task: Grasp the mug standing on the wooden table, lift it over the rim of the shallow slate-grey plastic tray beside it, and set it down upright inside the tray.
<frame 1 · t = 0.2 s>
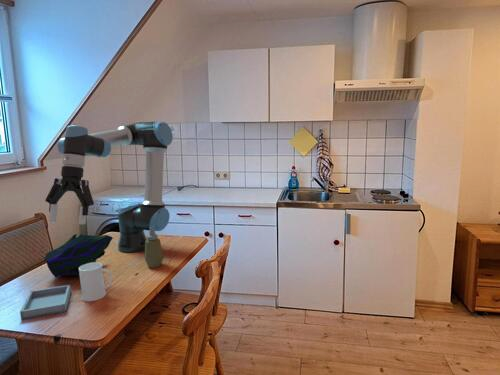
hand: (67, 222, 140), 28 cm above the table, tool tilted 15°, fingers open, 13 cm apart
mug: (98, 296, 141), on the table
slate tray: (48, 304, 136), on the table
squeeze bottle: (154, 266, 169), on the table
decorative plant: (85, 274, 163), on the table
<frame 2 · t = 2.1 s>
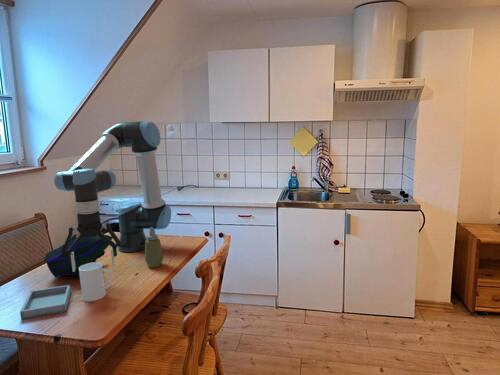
hand: (94, 267, 139), 12 cm above the table, tool pointing down, fingers open, 13 cm apart
nothing on the table moved.
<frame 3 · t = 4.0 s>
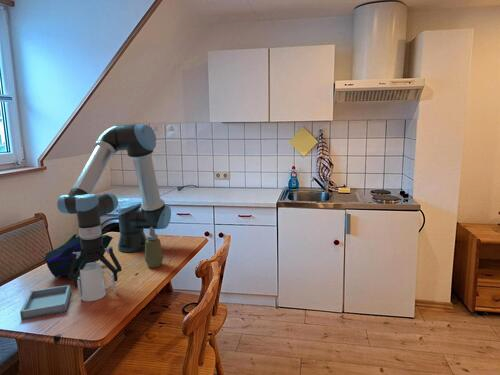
hand: (97, 292, 141), 2 cm above the table, tool pointing down, fingers closed on mug, 11 cm apart
mug: (98, 296, 141), on the table, touching gripper
everything else where it was.
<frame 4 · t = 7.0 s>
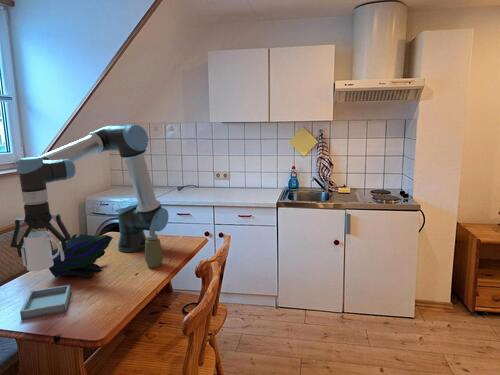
hand: (44, 262, 133), 16 cm above the table, tool pointing down, fingers closed on mug, 11 cm apart
mug: (45, 267, 133), point 15 cm above the table, touching gripper
everything else where it was.
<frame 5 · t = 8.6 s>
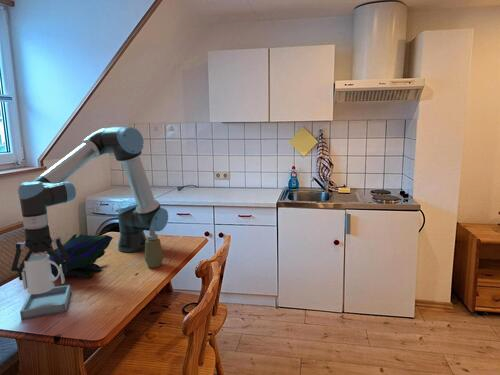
hand: (44, 285, 134), 8 cm above the table, tool pointing down, fingers closed on mug, 11 cm apart
mug: (45, 289, 135), point 6 cm above the table, touching gripper
everything else where it was.
when the fingers open (5 cm above the table, at t = 10.1 s): mug drops 3 cm, resting on slate tray.
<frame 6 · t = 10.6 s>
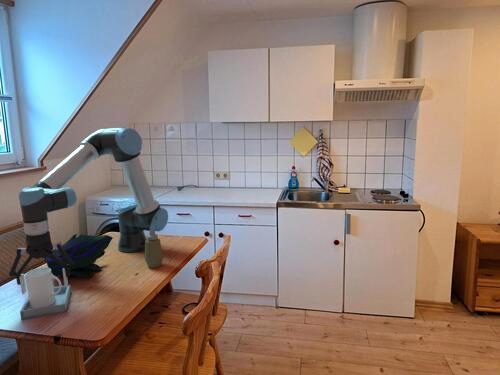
hand: (45, 289, 135), 6 cm above the table, tool pointing down, fingers open, 13 cm apart
mug: (47, 303, 136), point 1 cm above the table, touching slate tray
everything else where it was.
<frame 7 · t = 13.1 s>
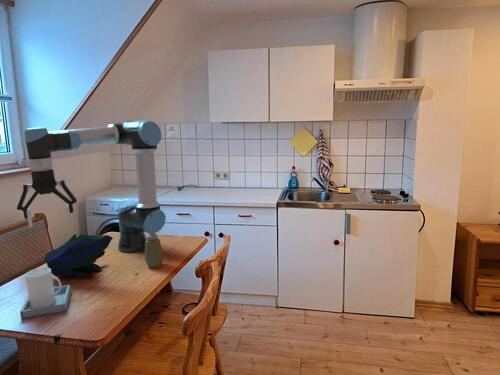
hand: (51, 223, 144), 27 cm above the table, tool pointing down, fingers open, 13 cm apart
nothing on the table moved.
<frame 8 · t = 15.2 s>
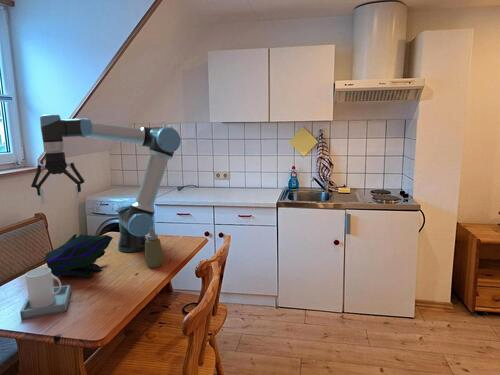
hand: (60, 201, 161), 32 cm above the table, tool pointing down, fingers open, 13 cm apart
nothing on the table moved.
at the end: mug inside the target area on the slate tray (0.2 cm from its centre), point 0.6 cm above the slate tray's base; mug tilted 0°; the gripper is holding nothing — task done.
